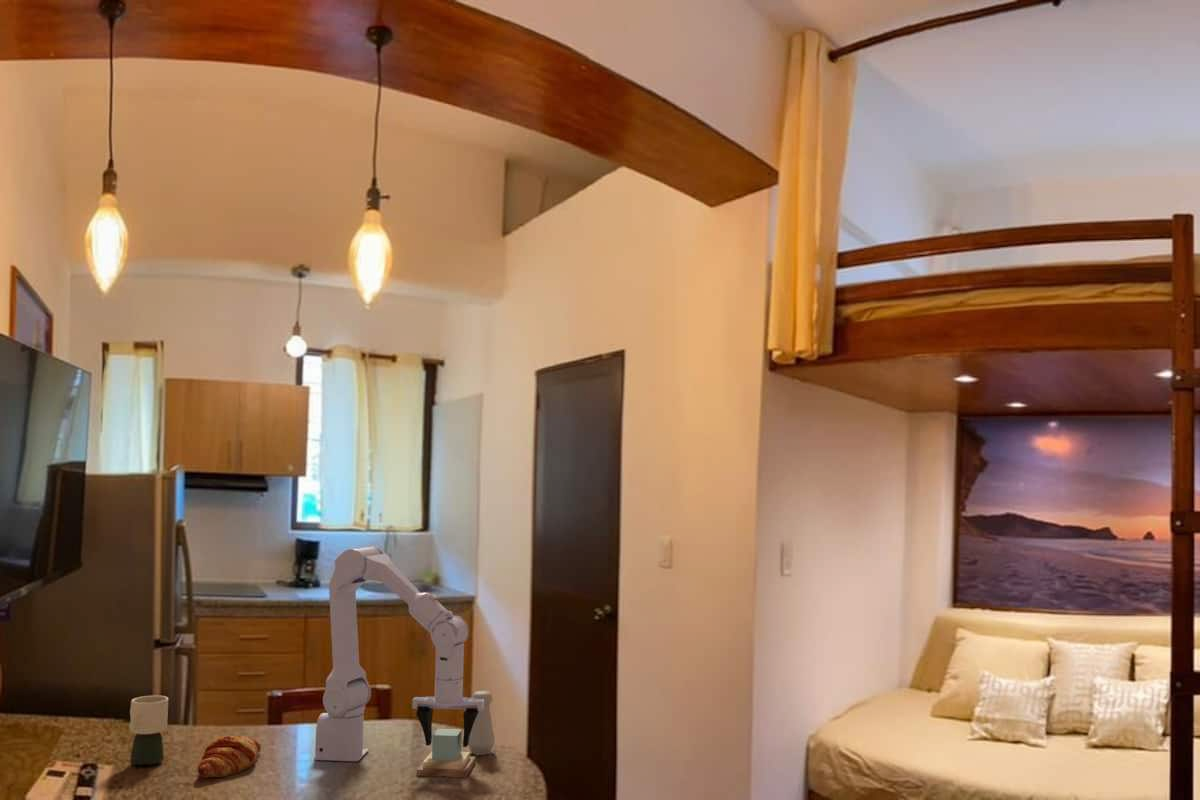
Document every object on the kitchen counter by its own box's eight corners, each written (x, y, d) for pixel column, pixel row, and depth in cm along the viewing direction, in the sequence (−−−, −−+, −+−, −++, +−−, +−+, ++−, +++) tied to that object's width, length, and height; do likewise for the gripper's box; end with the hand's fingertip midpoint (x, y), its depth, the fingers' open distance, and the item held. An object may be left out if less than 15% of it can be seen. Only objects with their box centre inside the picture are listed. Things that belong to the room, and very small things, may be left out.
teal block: (431, 760, 202) (432, 735, 202) (437, 753, 207) (437, 728, 207) (456, 761, 202) (457, 735, 202) (461, 753, 207) (461, 729, 207)
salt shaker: (489, 757, 212) (490, 695, 213) (463, 755, 214) (465, 694, 214) (497, 750, 218) (499, 689, 219) (472, 748, 219) (474, 688, 220)
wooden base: (416, 775, 199) (416, 763, 200) (427, 760, 209) (428, 749, 210) (466, 777, 199) (466, 765, 199) (475, 762, 209) (475, 750, 209)
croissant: (245, 768, 213) (230, 733, 215) (284, 748, 212) (270, 713, 214) (187, 798, 193) (172, 759, 194) (231, 776, 191) (215, 737, 193)
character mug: (148, 755, 210) (151, 692, 211) (178, 757, 208) (181, 694, 209) (113, 770, 199) (116, 704, 200) (145, 773, 198) (148, 706, 199)
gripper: (409, 680, 202) (407, 749, 201) (480, 682, 201) (478, 751, 200) (417, 673, 209) (415, 739, 208) (486, 675, 208) (484, 742, 207)
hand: (447, 744), depth 204 cm, fingers open, 7 cm apart
